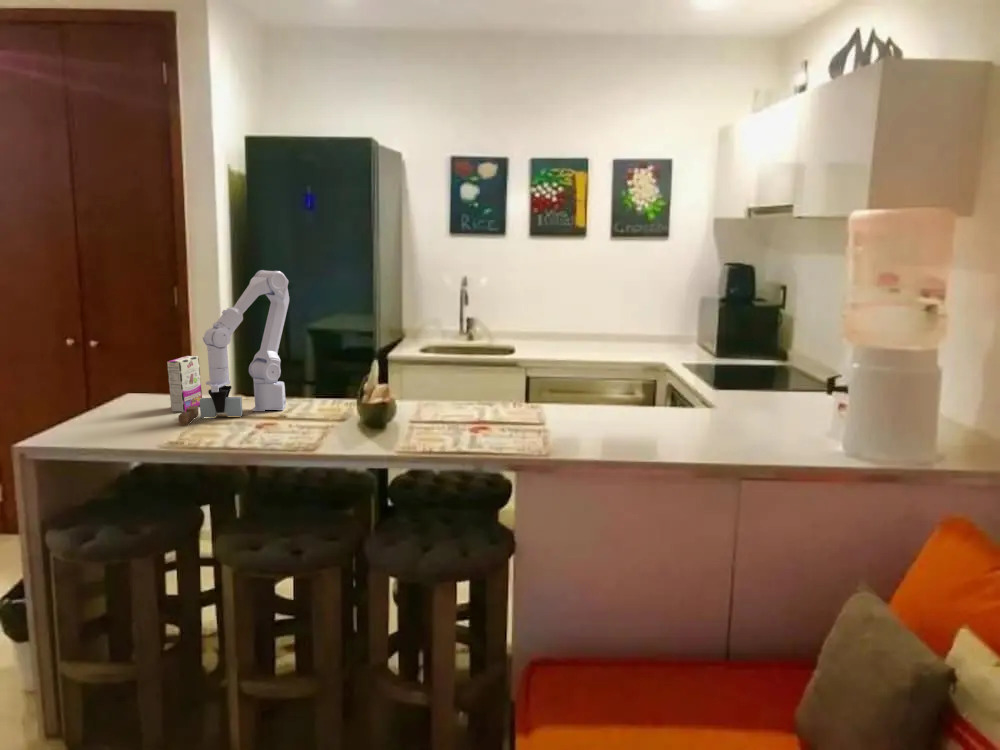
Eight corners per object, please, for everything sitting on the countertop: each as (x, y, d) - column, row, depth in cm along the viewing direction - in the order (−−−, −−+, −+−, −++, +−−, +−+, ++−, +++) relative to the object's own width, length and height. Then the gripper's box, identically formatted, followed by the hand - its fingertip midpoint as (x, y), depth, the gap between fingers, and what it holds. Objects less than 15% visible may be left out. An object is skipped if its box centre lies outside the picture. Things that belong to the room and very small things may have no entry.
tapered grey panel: (242, 415, 266) (241, 396, 265) (241, 417, 264) (240, 398, 263) (202, 417, 265) (201, 397, 264) (200, 418, 262) (199, 399, 261)
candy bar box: (189, 404, 283) (185, 355, 281) (203, 405, 282) (199, 355, 280) (170, 412, 273) (166, 360, 270) (184, 412, 272) (180, 361, 269)
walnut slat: (198, 415, 267) (198, 405, 267) (187, 425, 254) (186, 415, 253) (190, 415, 267) (190, 406, 267) (179, 425, 253) (178, 415, 253)
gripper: (210, 363, 268) (213, 406, 271) (199, 371, 254) (202, 416, 256) (233, 363, 269) (236, 405, 271) (224, 370, 255) (226, 415, 257)
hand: (221, 411), depth 264 cm, fingers open, 3 cm apart
